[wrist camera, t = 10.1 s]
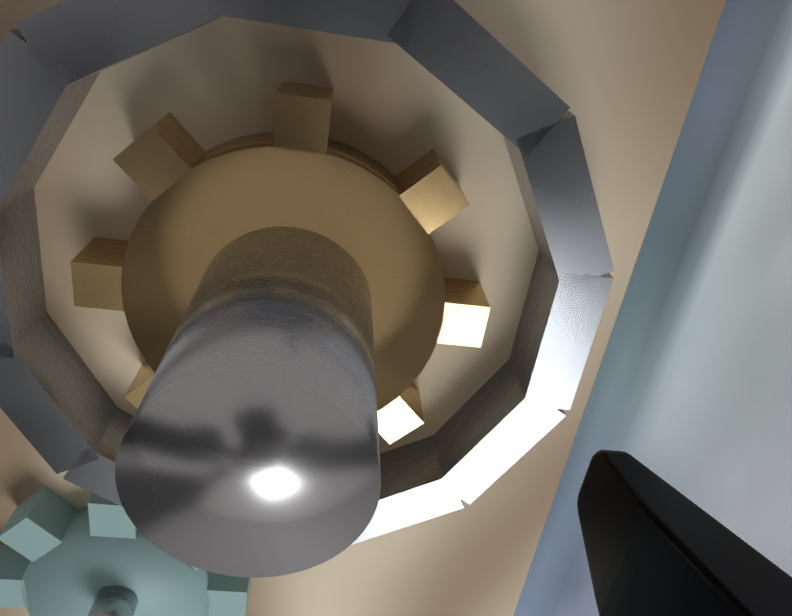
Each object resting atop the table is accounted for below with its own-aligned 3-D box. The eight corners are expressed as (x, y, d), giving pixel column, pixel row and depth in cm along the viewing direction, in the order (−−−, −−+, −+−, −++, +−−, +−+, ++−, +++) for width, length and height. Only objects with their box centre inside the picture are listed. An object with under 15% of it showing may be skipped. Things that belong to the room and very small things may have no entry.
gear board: (21, 607, 19) (-42, 728, 16) (-120, -275, 10) (-328, -383, 7) (488, 630, 21) (511, 744, 18) (727, -107, 12) (860, -134, 9)
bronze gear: (105, 415, 15) (-38, 672, 9) (82, 52, 11) (-168, 126, 6) (442, 443, 15) (488, 691, 10) (517, 115, 12) (647, 230, 7)
